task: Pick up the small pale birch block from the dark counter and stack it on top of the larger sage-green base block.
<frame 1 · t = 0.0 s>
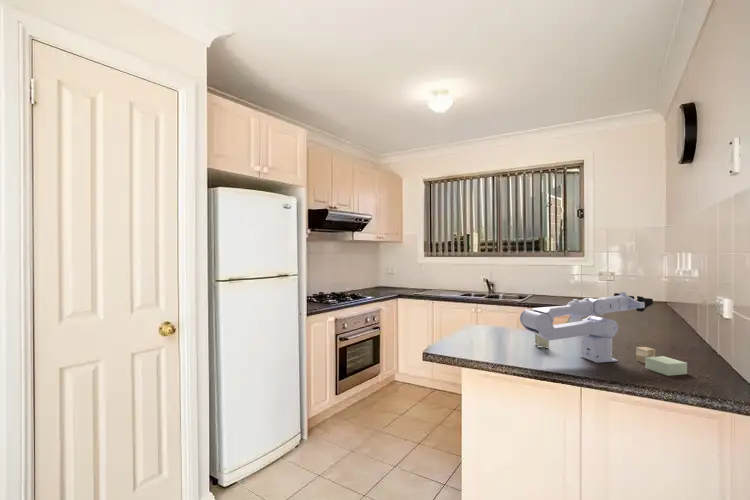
hand: (642, 300, 147), 22 cm above the counter, tool horizontal, fingers open, 7 cm apart
skincare box: (541, 347, 160), on the counter
sage base block: (665, 371, 130), on the counter
birch block: (645, 362, 140), on the counter
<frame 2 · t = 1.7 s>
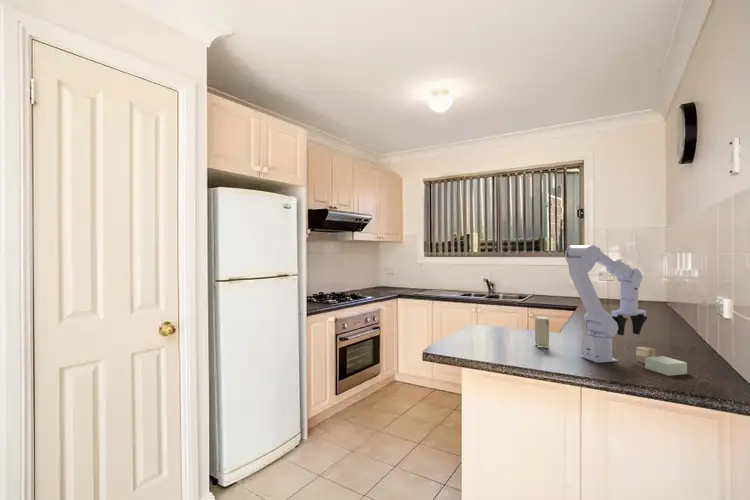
hand: (628, 334, 147), 8 cm above the counter, tool pointing down, fingers open, 7 cm apart
nothing on the counter moved.
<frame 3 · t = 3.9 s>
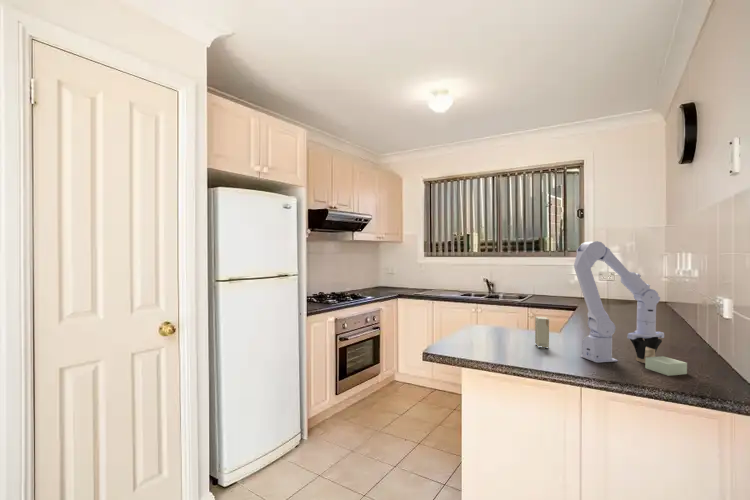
hand: (645, 357, 140), 1 cm above the counter, tool pointing down, fingers closed on birch block, 4 cm apart
birch block: (645, 361, 140), on the counter, touching gripper
everything else where it was.
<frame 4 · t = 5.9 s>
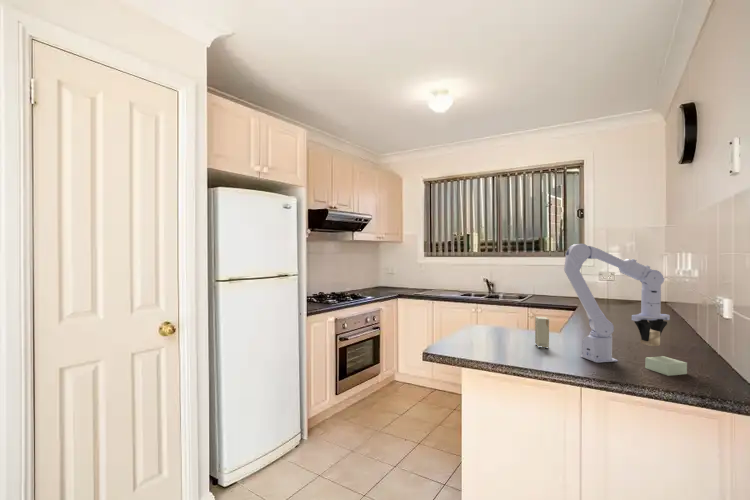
hand: (650, 340, 138), 8 cm above the counter, tool pointing down, fingers closed on birch block, 4 cm apart
birch block: (650, 344, 138), point 7 cm above the counter, touching gripper
everything else where it was.
when the fingers open (7 cm above the counter, at t = 7.8 s): birch block drops 2 cm, point 4 cm above the counter.
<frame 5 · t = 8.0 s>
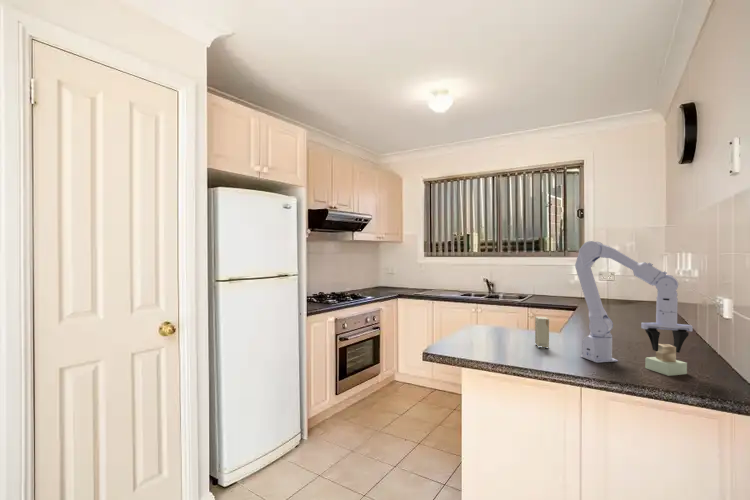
hand: (665, 351, 130), 7 cm above the counter, tool pointing down, fingers open, 6 cm apart
birch block: (665, 360, 130), point 4 cm above the counter
everything else where it was.
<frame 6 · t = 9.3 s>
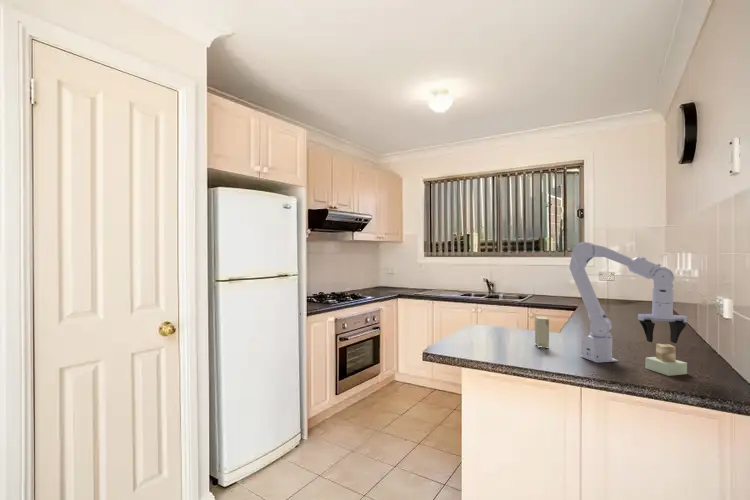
hand: (661, 342, 132), 9 cm above the counter, tool pointing down, fingers open, 7 cm apart
sage base block: (665, 371, 130), on the counter, touching birch block
birch block: (665, 360, 130), point 4 cm above the counter, touching sage base block
everything else where it was.
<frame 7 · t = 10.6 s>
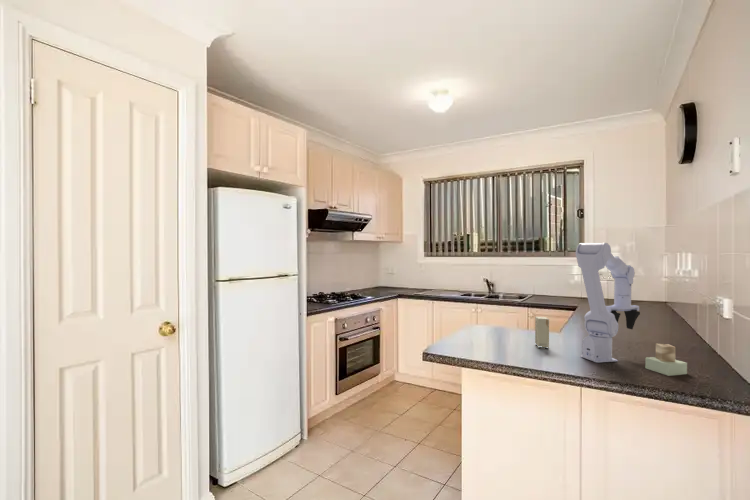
hand: (622, 329, 152), 9 cm above the counter, tool pointing down, fingers open, 7 cm apart
nothing on the counter moved.
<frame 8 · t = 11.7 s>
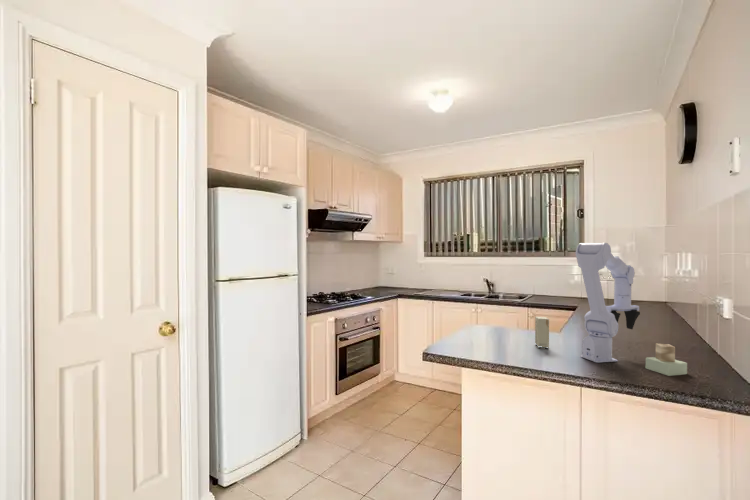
hand: (622, 329, 152), 9 cm above the counter, tool pointing down, fingers open, 7 cm apart
sage base block: (665, 372, 130), on the counter
birch block: (665, 359, 130), point 4 cm above the counter
everything else where it was.
at the end: birch block 0.5 cm off-centre on the sage base block, point 4.0 cm above the sage base block's base; birch block tilted 1°; the gripper is holding nothing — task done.
